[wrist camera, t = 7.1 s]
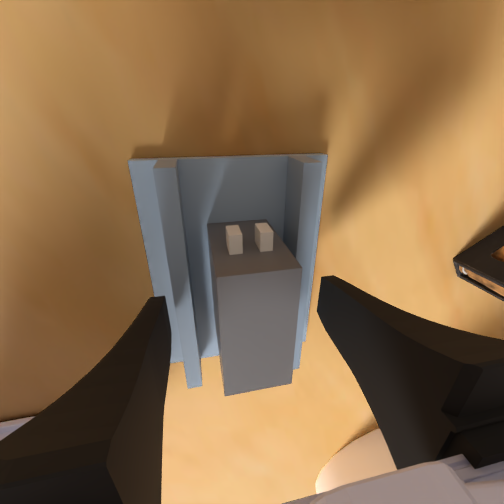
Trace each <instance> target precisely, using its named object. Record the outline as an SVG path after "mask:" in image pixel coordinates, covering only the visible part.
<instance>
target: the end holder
mask: <svg viewBox="0 0 504 504" xmlns="http://www.w3.org/2000/svg"><path fill="white" fill-rule="evenodd" d="M327 157H328V155H327V154H323V153H311V154H276V155H242V156H207V157H172V158H138V159H129V160H128V165H129V170H130V175H131V180H132V185H133V190H134V195H135V200H136V205H137V210H138V215H139V221H140V226H141V231H142V236H143V241H144V246H145V251H146V256H147V261H148V266H149V271H150V276H151V281H152V286H153V291H154V296H155V297H157V296H165V297H166V303H167V309H168V314H169V320H170V326H171V331H172V344H171V360H170V363H176V362H182V361H183V362H184V368H185V374H186V380H187V387H188V389H189V388H194V387H200V386H202V373H201V358H206V357H212V356H218V355H219V349H218V342H217V334H216V327H215V320H214V307H213V295H212V283H211V271H210V259H209V246H208V234H207V224H209V223H222V222H235V221H248V220H261V219H266V220H267V221H268V222H269V224H270V225H271V226H272V228H273V229H274V230H275V232H276V233H277V234H278V236H279V237H280V238H281V240H282V241H283V242H284V244H285V245H286V246H287V248H288V249H289V250H290V252H291V253H292V254H293V256H294V257H295V258H296V260H297V261H298V262H299V264H300V265H301V266H302V279H301V289H300V300H299V310H298V321H297V331H296V341H295V352H294V362H293V369H298V368H299V365H300V357H301V348H302V342H303V341H305V340H306V331H307V323H308V315H309V307H310V298H311V290H312V282H313V273H314V265H315V257H316V249H317V240H318V232H319V224H320V215H321V207H322V199H323V190H324V182H325V174H326V166H327Z"/></svg>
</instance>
